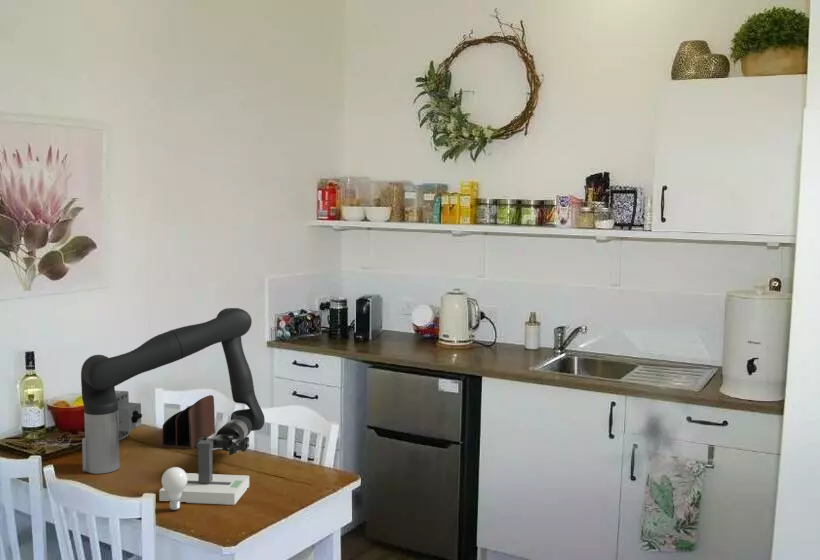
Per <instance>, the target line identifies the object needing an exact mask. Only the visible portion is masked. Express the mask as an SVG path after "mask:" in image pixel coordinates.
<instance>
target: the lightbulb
mask: <svg viewBox="0 0 820 560" xmlns="http://www.w3.org/2000/svg"><path fill="white" fill-rule="evenodd" d="M186 473H187V472H186V471H185V470H184V469H183V468H181V467H180V466H179V467H177V466H172V467H170V468H168V469H166V470H165V471H164V472H163V474H162V476H161V486H162V487H163V488H164V489H165V490H166V492H167V494H168V498H169V501H170V502H168V503H169V509H170V510H172V511H177V510H179V509H180V508H181V502H180V498H181V495H182V491H183V489H184V488H185V486H186V484H187V480H188V478H187V474H186Z"/></svg>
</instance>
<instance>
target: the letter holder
mask: <svg viewBox="0 0 820 560" xmlns="http://www.w3.org/2000/svg"><path fill="white" fill-rule="evenodd" d="M215 418H216V416H215V398H214V395H212V394H209V395H207V396H204V397H202V398H200V399H198V400H197V401H195V402H194V403H193V404H192V405H190V406H188V407H186V408H184V409H183V410H180V411H178V412H176V413H175V414H173V415H171V416H170V417H168V419H167V420H166V421H164V422H163V424H162V429H161V430H162V437H161V448H162V449H170V448H178V449H177V450H186V449H192V450H193V449H194V448H196V447H195V446H196V441H197V440H198V439H200V438H201V437H202V436H207V438H210V437H211V436H213V434H215V433H216V425H215V424H216V422H215V421H216V419H215Z"/></svg>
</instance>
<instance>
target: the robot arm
mask: <svg viewBox="0 0 820 560" xmlns="http://www.w3.org/2000/svg"><path fill="white" fill-rule="evenodd" d="M252 323H253V320H252V317H251V315H250V313H248V312H247V311H246V310H244V309H242V308H240V307H227V308H223V309H221V310H220V311H219V313H218V314H217V315H216V316H215V317H214V318H213V319H211V320H208V321H205V322H201V323H196V324H190V325H186V326H180V327H178V328H174V329H171V330H170V329H169V330H168V331H165V332H162V333H160V334H157V335H156V336H153V337H151V338H150V339H148V340H146V341H145V342H144V343H143V344H141V345H139V346H138V347H137V348H135V349H133V350H130V351H128V352H125V353H122V354H119V355H115V356H112V357H108V356H107V355H103V354H94V355H91V356H90V357H88V358H87V359H86V360H84V362H83V364H82V366H81V369H80V370H81V371H80V380H81V381H80V382H81V384H80V385H81V386H80V387H81V398H82V404H83V408H84V409H83V411H84V413H83V414H84V417H83V418H84V437H82V439H81V449H82V450H81V451H82V453H81V454H82V455H81V456H82V459H81V460H82V472H87V473H88V474H96V475H97V474H99V475H100V474H109V473H111V472H115V471H117V470H119V469H120V440H119V421H118V400H117V398H116V394H115V387H116V386H119V385H120V384H122V383H124V382H126V381H128V380H130V379H132V378H134V377H136V376H139V375H141V374H143V373H146V372H149V371H152V370H155V369H158V368H161V367H163V366H166V365H169V364H171V363H174V362H177V361H180V360H182V359H184V358H187V357H188V356H192V355H193V354H194V355H195V354H196V353H198V352H200V351H203V350H204V349H206V348H209V347H210V346H213V345H215V344H218V343H221V346H222V350H223V353H224V357H225V362H226V365H227V371H228V377H229V384H230V390H231V397H232V401H233V402H234V403H235V404H236V403H237V404H244V405H246V406H247V407H248V408H246V409H245V408H244V409H237V410H234V411H233V412H232V413H231V415H230V420H229V421H227V422H226V423H225V424H224V425H223V426H222V427H220V429H218V430H217V432H216V434H215V436H212V437H208V438H207V436H202V437H201V438H200V439H198V440H197V441H196V447H195V448H196V450H197V451H198V448H197V443H198V442H199V441H200V440H208V441H213V446H212V451H216V450H222V451H224V452H228V455H229V456H233V455H234V454H236V453H239V452H240V451H241V452H242V453H243V452H244V453H245V452H246V451H247V450H248V449H249V447H250V437H249V435H250V433H251V432H254V431H260V430H261V429H263V427H264V426H265V421H266V420H265V415H264V413H263V410H262V408H261V406H260V404H259V400H258V399H257V396H256V393H255V385H254V380H253V376H252V371H251V368H250V366H249V363H248V361H247V358H246V355H245V352H244V347H243V341H242V337H243V336H244V335H246V334H247V333H248V332H249V331H250V329H251V328H252V327H251V326H252Z"/></svg>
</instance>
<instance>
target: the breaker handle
mask: <svg viewBox="0 0 820 560" xmlns="http://www.w3.org/2000/svg"><path fill="white" fill-rule="evenodd" d="M212 446H213V441H208V440H200V441H199V442H198V443H197V448H198V450H197V458H198V459H197V465H198V466H197V470H198V471H197V474H198V483H210V482H211V481H212V480H213V475H212V474H213V450H212ZM213 447H214V446H213Z"/></svg>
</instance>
